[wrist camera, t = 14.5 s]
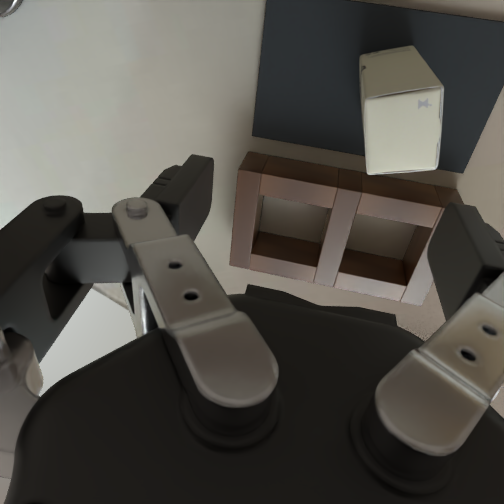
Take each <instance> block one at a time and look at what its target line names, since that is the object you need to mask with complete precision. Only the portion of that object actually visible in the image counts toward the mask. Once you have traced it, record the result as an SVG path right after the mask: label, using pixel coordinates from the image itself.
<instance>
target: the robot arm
mask: <svg viewBox="0 0 504 504" xmlns="http://www.w3.org/2000/svg"><path fill="white" fill-rule="evenodd" d="M22 1H23V0H0V17H5V16H8V15H10V14H12V13H13V12H14V11H15V10H16V9H17V8H18V7H19V6H20V4H21V2H22ZM213 172H214V160H213V158H210V157H204V156H199V155H194V154H192V155H191V156H190V157H189V158H188V159H187V161H186V162H185V163H184V164H183V165H182V166H178V165H174V166H172V167H170V168H168V169H165V170H164V171H163V172H162V173H161V174H160V175H159V176H158V178H157V179H156V180H155V181H154V182H153V184H151V185H150V186H149V188H148V189H147V190H146V191H145V192H144V193H143V194H142V195H141V197H135V198H127V199H124V200H121V201H119V202H117V203H116V204H115V205H114V206H113V207H112V213H83V207H82V203H81V202H80V201H79V200H78V199H76V198H73V197H70V196H60V195H59V196H49V197H45V198H41V199H39V200H36V201H35V202H33V203H32V204H30V205H29V206H28V207H27V208H26V209H24V210H23V211H22V212H21V213H20V214H19V215H17V216H16V217H15V218H14V219H13V220H11V221H10V222H9V223H8V224H7V225H6V226H4V227H3V228H2V229H1V230H0V477H3V478H8V479H11V482H10V486H9V489H8V493H7V496H6V499H5V502H4V504H504V419H503V418H502V417H501V416H500V415H499V414H498V413H497V412H496V411H495V410H494V409H493V408H492V407H491V406H490V403H491V400H492V399H493V397H494V396H495V394H496V393H497V391H498V390H499V388H500V387H501V385H502V384H503V383H504V240H503V238H502V237H501V235H500V233H498V232H497V231H496V230H495V229H494V228H492V227H491V226H490V225H489V224H487V223H485V222H484V221H483V219H482V217H481V215H480V214H479V212H478V210H477V208H476V207H475V206H470V205H465V204H459V203H454V202H450V203H449V204H448V205H447V206H446V208H445V210H444V212H443V214H442V216H441V218H440V220H439V222H438V225H437V227H436V229H435V231H434V233H433V235H432V238H431V240H430V242H429V245H428V250H427V259H428V262H429V266H430V269H431V272H432V276H433V279H434V282H435V286H436V289H437V292H438V296H439V299H440V302H441V306H442V309H443V312H444V315H445V319H446V322H445V323H444V324H443V325H442V326H441V327H440V328H439V329H438V330H437V331H436V332H435V333H434V334H433V335H432V336H431V337H430V338H429V339H428V340H427V341H426V342H424V341H423V340H422V339H420V338H419V337H417V336H416V335H414V334H412V333H411V332H409V331H407V330H405V329H403V328H400V327H398V326H397V323H396V316H395V314H390V313H385V312H380V311H375V310H370V309H366V308H361V307H340V306H320V305H316V304H314V303H311V302H309V301H306V300H304V299H301V298H299V297H296V296H294V295H291V294H289V293H286V292H284V291H279V290H274V289H269V288H264V287H260V286H255V285H250V284H248V285H247V289H246V292H245V294H231V295H227V294H226V293H225V291H224V289H223V288H222V286H221V285H220V283H219V281H218V280H217V278H216V277H215V275H214V273H213V272H212V270H211V269H210V267H209V265H208V264H207V262H206V261H205V259H204V257H203V256H202V254H201V253H200V251H199V249H198V248H197V246H196V245H195V243H194V240H195V238H196V236H197V235H198V233H199V231H200V229H201V227H202V225H203V224H204V222H205V220H206V218H207V216H208V214H209V211H210V208H211V202H212V189H213ZM94 283H120V287H121V289H122V292H123V295H124V298H125V301H126V304H127V307H128V310H129V312H130V315H131V318H132V321H133V324H134V327H135V331H136V336H137V339H135V340H133V341H131V342H129V343H127V344H125V345H124V346H122V347H120V348H118V349H116V350H114V351H112V352H110V353H108V354H107V355H105V356H103V357H101V358H99V359H97V360H95V361H93V362H91V363H90V364H88V365H86V366H84V367H82V368H80V369H78V370H77V371H75V372H73V373H71V374H69V375H68V376H66V377H64V378H63V379H61V380H59V381H58V382H57V383H55V384H54V385H53V386H52V387H50V388H49V389H48V390H47V391H46V392H45V393H44V394H43V395H42V396H41V397H40V396H39V394H40V391H41V389H42V386H43V376H42V372H41V369H40V366H39V363H40V362H41V360H42V358H43V357H44V356H45V355H46V353H47V352H48V350H49V349H50V347H51V346H52V344H53V343H54V341H55V340H56V338H57V337H58V336H59V334H60V333H61V331H62V330H63V328H64V327H65V325H66V324H67V323H68V321H69V320H70V318H71V317H72V315H73V314H74V312H75V311H76V309H77V308H78V307H79V305H80V304H81V302H82V301H83V299H84V298H85V296H86V295H87V293H88V292H89V290H90V289H91V288H92V286H93V284H94Z"/></svg>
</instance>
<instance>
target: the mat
mask: <svg viewBox="0 0 504 504" xmlns="http://www.w3.org/2000/svg"><path fill="white" fill-rule="evenodd" d="M406 46H414V47H415V48H416V50H417V51H418V53H419V54H420V55H421V57H422V58H423V59H424V61H425V62H426V63H427V65H428V66H429V67H430V69H431V70H432V71H433V73H434V74H435V75H436V77H437V78H438V79H439V81H440V82H441V83H442V85H443V86H444V97H443V116H442V132H441V143H440V154H439V162H438V167H437V168H436V169H440V170H446V171H452V172H457V173H464V170H465V168H466V166H467V164H468V162H469V159H470V157H471V155H472V153H473V151H474V149H475V146H476V144H477V142H478V140H479V138H480V136H481V133H482V131H483V129H484V127H485V125H486V122H487V120H488V118H489V116H490V114H491V112H492V109H493V107H494V105H495V103H496V101H497V99H498V96H499V94H500V92H501V90H502V88H503V85H504V22H502V21H495V20H488V19H481V18H473V17H466V16H459V15H452V14H445V13H438V12H430V11H423V10H416V9H409V8H402V7H394V6H387V5H380V4H373V3H366V2H359V1H351V0H267V3H266V12H265V21H264V30H263V40H262V49H261V58H260V67H259V77H258V86H257V95H256V104H255V113H254V123H253V132H252V136H255V137H261V138H266V139H272V140H278V141H283V142H289V143H294V144H300V145H306V146H311V147H317V148H323V149H328V150H334V151H339V152H345V153H351V154H356V155H362V156H365V145H364V137H363V126H362V117H361V100H360V71H359V59H360V56H361V55H363V54H368V53H372V52H377V51H383V50H388V49H394V48H400V47H406Z"/></svg>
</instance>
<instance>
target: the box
mask: <svg viewBox="0 0 504 504" xmlns="http://www.w3.org/2000/svg"><path fill="white" fill-rule="evenodd" d="M359 71H360V100H361V117H362V126H363V137H364V145H365V156H366V169H367V174H368V175H376V174H393V173H406V172H417V171H428V170H435V169H436V168H437V167H438V162H439V154H440V143H441V132H442V116H443V97H444V86H443V85H442V83H441V82H440V81H439V79H438V78H437V77H436V75H435V74H434V73H433V71H432V70H431V69H430V67H429V66H428V65H427V63H426V62H425V61H424V59H423V58H422V57H421V55H420V54H419V53H418V51H417V50H416V48H415V47H414V46H406V47H400V48H394V49H388V50H383V51H377V52H372V53H368V54H363V55H361V56H360V59H359Z"/></svg>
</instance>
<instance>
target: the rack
mask: <svg viewBox="0 0 504 504" xmlns="http://www.w3.org/2000/svg"><path fill="white" fill-rule="evenodd" d="M264 196H269V197H275V198H280V199H285V200H290V201H295V202H301V203H306V204H311V205H316V206H321V207H326V208H329V209H328V213H327V217H326V221H325V224H324V228H323V232H322V236H321V240H320V244H319V243H314V242H309V241H304V240H299V239H294V238H289V237H284V236H279V235H274V234H270V233H265V232H260V231H259V226H260V219H261V212H262V205H263V197H264ZM450 202H454V203H459V204H464V203H463V201H462V199H461V197H460V195H459V193H458V191H457V190H456V189H451V188H445V187H440V186H433V185H429V184H423V183H418V182H412V181H407V180H401V179H396V178H390V177H385V176H379V175H368V174H367V173H363V172H357V171H352V170H346V169H341V168H335V167H330V166H324V165H319V164H314V163H308V162H303V161H297V160H292V159H286V158H281V157H275V156H269V155H264V154H258V153H253V152H248V153H247V155H246V157H245V158H244V160H243V162H242V164H241V165H240V167H239V169H238V176H237V187H236V198H235V209H234V220H233V231H232V242H231V253H230V263H229V265H231V266H235V267H240V268H245V269H249V270H253V271H258V272H263V273H267V274H272V275H277V276H282V277H286V278H291V279H296V280H300V281H305V282H310V283H315V284H320V285H324V286H329V287H334V288H338V289H343V290H348V291H352V292H357V293H362V294H366V295H371V296H376V297H381V298H385V299H390V300H395V301H400V302H404V303H409V304H413V305H418V306H422V304H423V301H424V299H425V297H426V295H427V293H428V291H429V289H430V287H431V285H432V283H433V281H434V279H433V276H432V272H431V269H430V266H429V262H428V259H427V250H428V245H429V242H430V240H431V238H432V235H433V233H434V231H435V229H436V227H437V225H438V222H439V220H440V218H441V216H442V214H443V212H444V210H445V208H446V206H447V205H448V204H449V203H450ZM356 213H357V214H363V215H368V216H373V217H378V218H383V219H389V220H394V221H399V222H404V223H409V224H414V225H417V227H416V230H415V232H414V234H413V237H412V239H411V241H410V244H409V246H408V249H407V251H406V253H405V256H404V258H403V261H402V260H397V259H392V258H388V257H383V256H378V255H373V254H368V253H363V252H358V251H353V250H348V249H345V247H346V243H347V240H348V237H349V234H350V230H351V227H352V224H353V220H354V217H355V214H356Z"/></svg>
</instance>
